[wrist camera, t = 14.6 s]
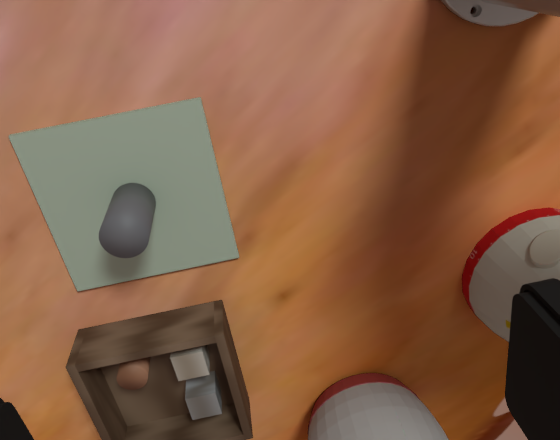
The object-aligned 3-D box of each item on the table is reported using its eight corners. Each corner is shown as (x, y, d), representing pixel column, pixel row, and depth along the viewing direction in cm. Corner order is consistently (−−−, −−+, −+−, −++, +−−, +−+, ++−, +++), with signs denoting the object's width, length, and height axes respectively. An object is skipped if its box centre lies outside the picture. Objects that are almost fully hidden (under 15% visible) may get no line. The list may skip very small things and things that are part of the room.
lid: (200, 95, 40) (199, 120, 34) (238, 252, 48) (243, 296, 41) (12, 132, 40) (-23, 165, 34) (79, 285, 47) (60, 335, 41)
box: (222, 299, 49) (223, 334, 45) (249, 399, 56) (252, 438, 51) (78, 329, 49) (65, 367, 44) (123, 427, 55) (116, 467, 51)
